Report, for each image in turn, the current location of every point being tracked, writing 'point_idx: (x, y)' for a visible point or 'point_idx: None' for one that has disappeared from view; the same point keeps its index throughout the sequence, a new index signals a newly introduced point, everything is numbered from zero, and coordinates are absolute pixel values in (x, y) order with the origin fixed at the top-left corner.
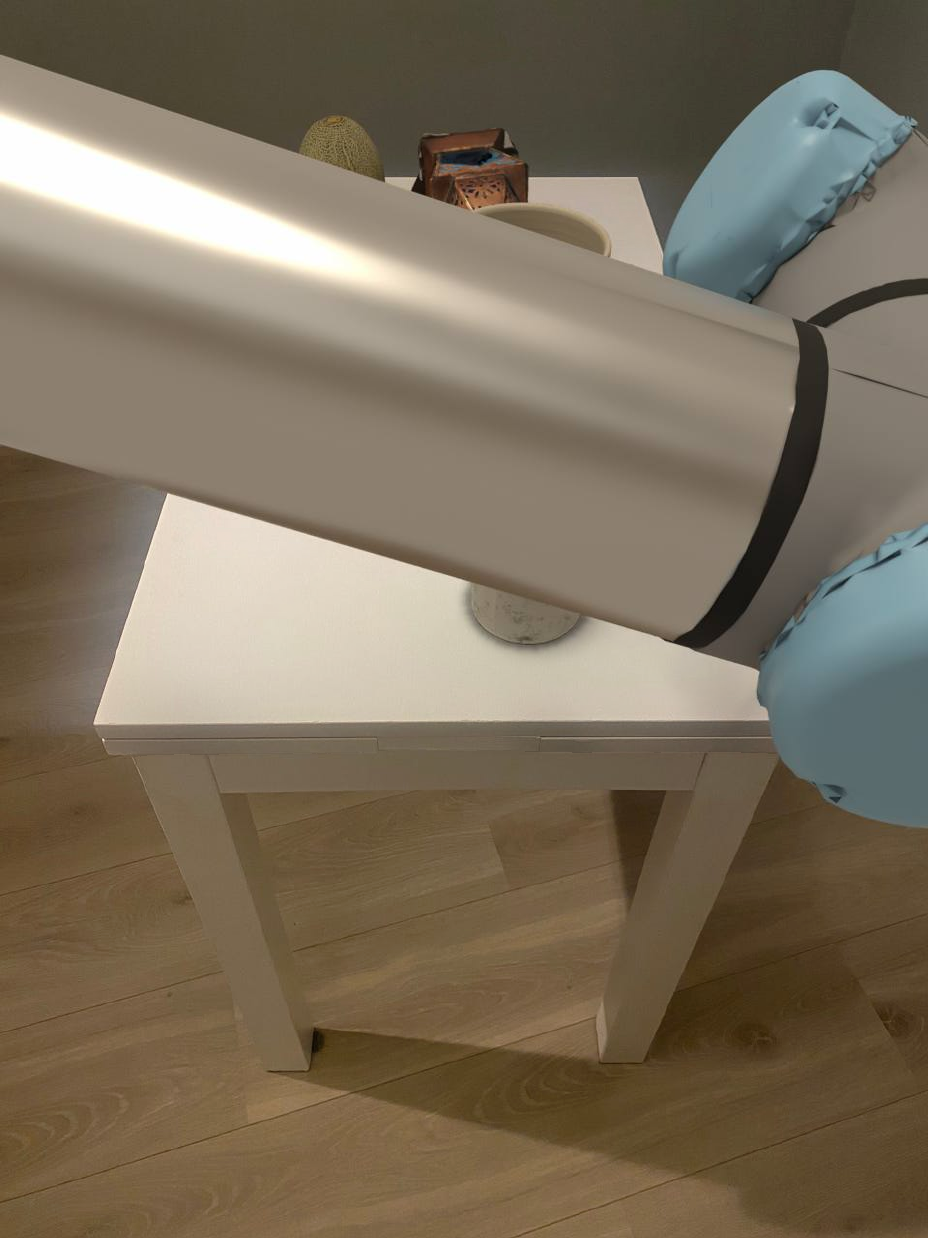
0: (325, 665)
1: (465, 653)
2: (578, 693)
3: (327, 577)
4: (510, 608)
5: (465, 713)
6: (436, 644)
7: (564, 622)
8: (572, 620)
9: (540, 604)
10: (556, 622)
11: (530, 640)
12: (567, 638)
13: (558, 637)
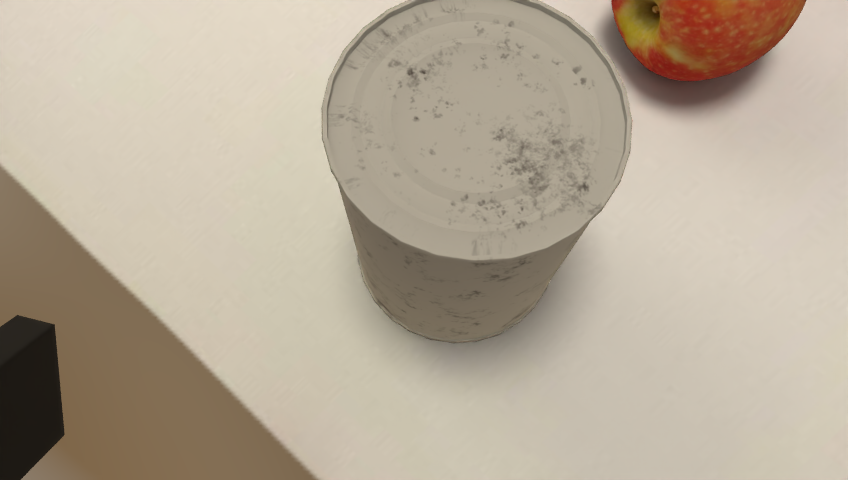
0: (124, 134)
1: (295, 258)
2: (370, 456)
3: (257, 8)
4: (361, 261)
5: (199, 351)
6: (276, 213)
7: (451, 334)
8: (475, 335)
9: (397, 297)
10: (432, 328)
11: (390, 314)
12: (450, 352)
13: (439, 340)
